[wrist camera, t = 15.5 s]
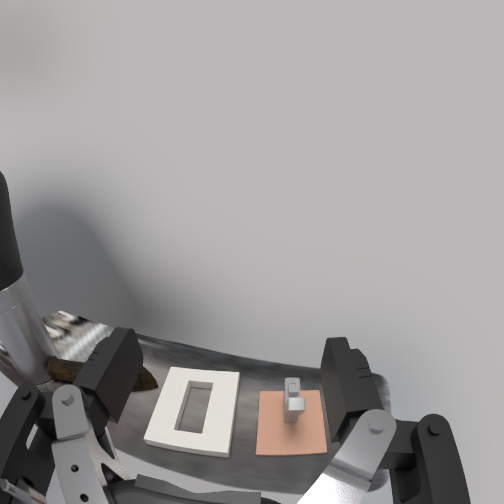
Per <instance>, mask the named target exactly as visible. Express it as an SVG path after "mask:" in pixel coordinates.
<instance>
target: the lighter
mask: <svg viewBox="0 0 504 504" xmlns="http://www.w3.org/2000/svg"><path fill="white" fill-rule="evenodd" d="M305 410H306V398H305V397H301V395H300V380H299V378H286V379H285V386H284V397H283V422H284V423H296V422H298V417H299V415H301V414H302V413H303V412H304V411H305Z"/></svg>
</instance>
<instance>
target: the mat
mask: <svg viewBox="0 0 504 504" xmlns="http://www.w3.org/2000/svg"><path fill="white" fill-rule="evenodd" d="M300 395H301V397H305V398H306V410H305V411H304V412H303V413H302V414H301V415H299V417H298V422H296V423H284V422H283V397H284V391H260V401H259V417H258V433H257V448H256V456H294V455H312V454H324V453H327V448H326V439H325V430H324V422H323V415H322V407H321V400H320V393H319V390H311V391H300Z"/></svg>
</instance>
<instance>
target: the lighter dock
mask: <svg viewBox="0 0 504 504" xmlns="http://www.w3.org/2000/svg"><path fill="white" fill-rule="evenodd" d="M239 381H240V376H239V372H222V371H208V370H196V369H186V368H177V367H171V369H170V371H169V374H168V376H167V379H166V381H165V384H164V386H163V389H162V391H161V394H160V397H159V399H158V402H157V404H156V407H155V410H154V412H153V415H152V418H151V420H150V423H149V426H148V428H147V431H146V434H145V436H144V440H145V441H146V443H147V444H149V445H153V446H157V447H162V448H166V449H171V450H177V451H182V452H188V453H194V454H201V455H209V456H218V457H228V458H229V455H230V448H231V440H232V433H233V426H234V418H235V411H236V404H237V396H238V389H239ZM190 387H196V388H206V389H212V392H211V396H210V401H209V405H208V410H207V414H206V419H205V423H204V428H203V432H202V434H198V433H191V432H184V431H178V428H179V425H180V421H181V418H182V414H183V411H184V408H185V404H186V401H187V397H188V394H189V391H190Z"/></svg>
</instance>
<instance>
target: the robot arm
mask: <svg viewBox="0 0 504 504" xmlns="http://www.w3.org/2000/svg"><path fill="white" fill-rule="evenodd" d="M0 339H1V341H2V342H3V344H4V346H5V348H6V350H7V351H8V353H9V355H10V357H11V358H12V360H13V362H14V363H15V365H16V367H17V368H18V370H19V371H20V373H21V374H22V376H23V377H24V379H25V380H26V381H27V382H29V383H25V384H23V385H21V386H20V387H19V388H18V389H17V390H16V392H15V394H14V395H13V397H12V399H11V401H10V402H9V404H8V406H7V408H6V410H5V411H4V413H3V415H2V417H1V419H0V504H47V502H46V499H45V496H46V493H47V490H48V487H49V484H50V481H51V477H52V474H53V472H54V469H55V466H56V470H57V474H58V478H59V482H60V486H61V489H62V493H63V495H64V499H65V502H66V504H281V503H278V502H276V501H274V500H271V499H267V498H263V497H261V492H240V491H221V492H211V493H198V494H197V493H192V492H190V491H187V490H185V489H182V488H180V487H178V486H175V485H173V484H171V483H169V482H166V481H163V480H159V479H154V478H151V477H147V476H143V475H140V474H138V475H137V478H136V479H133V480H130V478H129V476H128V474H127V473H126V471H125V470H124V468H123V467H122V465H121V463H120V461H119V459H118V457H117V454H116V451H115V449H114V446H113V443H112V440H111V437H110V435H109V432H108V429H107V427H106V425H107V422H108V421H110V422H114V423H118V421H119V418H120V416H121V414H122V411H123V409H124V407H125V404H126V402H127V400H128V397H129V395H130V393H131V390H132V388H133V386H134V383H135V381H136V379H137V377H138V375H139V372H140V370H141V368H142V365H143V354H142V351H141V348H140V345H139V342H138V339H137V336H136V333H135V331H134V330H133V329H130V328H122V327H116V328H115V329H114V330H113V332H112V333H111V335H110V337H105V338H104V339H103V340H102V341H100V342H99V343H98V344H97V345H96V347H95V348H94V350H93V353H91V355H90V356H89V358H88V360H87V361H86V362H85V364H84V366H83V367H82V369H81V370H80V372H79V374H78V375H77V377H76V379H75V380H74V382H73V383H72V385H64V386H61V387H60V388H58V389H57V390H56V391H55V393H47V392H40V391H39V389H38V388H37V387H36V385H34V384H41V383H44V382H46V381H48V380H50V379H51V378H52V377H50V376H49V374H48V372H47V369H48V361H49V360H50V359H51V358H52V357H53V356H56V357H58V359H61V357H60V355H59V353H58V351H57V349H56V347H55V345H54V343H53V341H52V339H51V337H50V335H49V333H48V331H47V329H46V327H45V324H44V322H43V320H42V318H41V315H40V313H39V310H38V308H37V306H36V303H35V301H34V298H33V296H32V293H31V290H30V288H29V285H28V282H27V279H26V276H25V273H24V270H23V267H22V264H21V260H20V254H19V249H18V245H17V241H16V237H15V232H14V226H13V220H12V215H11V206H10V199H9V192H8V187H7V183H6V180H5V177H4V176H3V174H2V173H1V172H0ZM321 381H322V386H323V392H324V398H325V405H326V411H327V417H328V424H329V431H330V438H331V443H332V442H340V450H339V451H338V453H337V454H336V456H335V457H334V458H333V460H332V461H331V463H330V464H329V465H328V466H327V468H326V469H325V470H324V472H323V473H322V474H321V476H320V477H319V478H318V480H317V481H316V482H315V483H314V485H313V486H312V487H311V488H310V489H309V491H308V492H307V493H306V494H305V495H304V497H303V498H302V499H301V500H300V501H299V502H298V503H297V504H359V503H360V501H361V500H362V498H363V497H364V495H365V494H366V492H367V490H368V489H369V487H370V485H371V482H372V481H371V478H372V476H373V474H374V473H375V471H376V469H377V468H379V469H389V473H390V480H391V486H392V495H393V503H394V504H471V503H470V497H469V493H468V488H467V483H466V479H465V475H464V471H463V467H462V464H461V460H460V456H459V453H458V450H457V447H456V443H455V440H454V437H453V434H452V431H451V428H450V425H449V423H448V421H447V420H446V419H445V418H444V417H443V416H441V415H438V414H429V415H426V416H424V417H423V418H422V419H421V420H420V421H419V422H411V421H401V420H397V419H394V417H393V416H392V415H391V414H390V413H388V412H386V411H385V410H384V408H383V406H382V403H381V400H380V397H379V394H378V391H377V388H376V385H375V382H374V379H373V378H372V373H371V370H370V369H369V364H368V362H367V359H366V357H365V356H364V355H363V354H362V352H361V351H360V350H359V349H350V347H349V344H348V341H347V338H346V337H336V338H327V340H326V344H325V348H324V353H323V357H322V362H321ZM34 424H35V425H36V426H37V427H38V429H37V432H36V434H35V436H34V438H33V440H32V443H31V445H30V447H29V449H27V447H26V441H27V438H28V436H29V434H30V431H31V430H32V427H33V425H34Z"/></svg>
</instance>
